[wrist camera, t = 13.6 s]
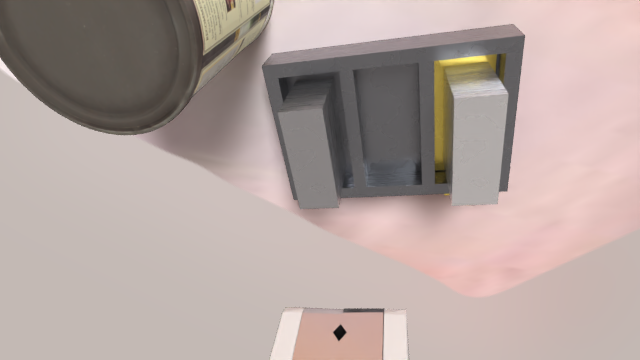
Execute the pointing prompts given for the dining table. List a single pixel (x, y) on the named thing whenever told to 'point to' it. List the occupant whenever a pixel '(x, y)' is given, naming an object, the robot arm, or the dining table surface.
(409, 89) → the rack
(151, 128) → the coffee can
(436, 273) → the dining table surface
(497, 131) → the grey rectangular block
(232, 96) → the dining table surface
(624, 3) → the dining table surface
